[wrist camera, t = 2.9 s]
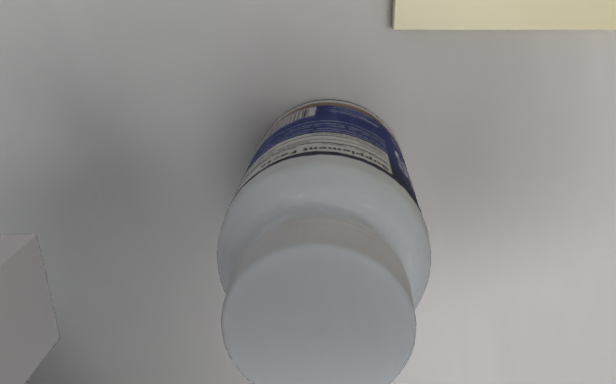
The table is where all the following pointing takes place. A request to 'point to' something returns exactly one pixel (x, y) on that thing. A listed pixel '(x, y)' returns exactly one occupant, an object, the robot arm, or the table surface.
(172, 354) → the table surface
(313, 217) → the pill bottle
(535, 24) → the notepad
